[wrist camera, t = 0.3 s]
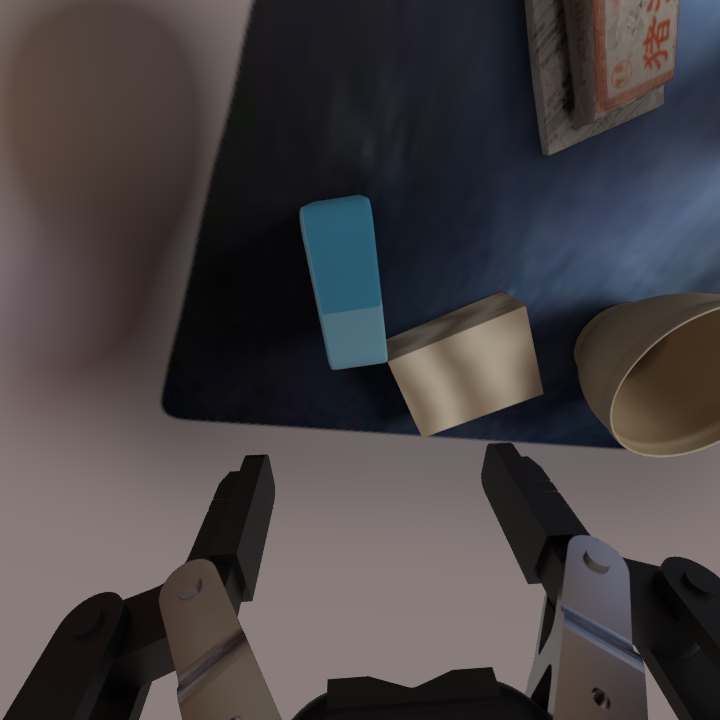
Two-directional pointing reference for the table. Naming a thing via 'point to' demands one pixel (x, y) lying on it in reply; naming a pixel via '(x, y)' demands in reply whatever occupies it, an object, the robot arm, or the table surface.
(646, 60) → the packaged product
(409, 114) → the table surface
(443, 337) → the stand
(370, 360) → the blue product box
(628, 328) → the planter bowl
